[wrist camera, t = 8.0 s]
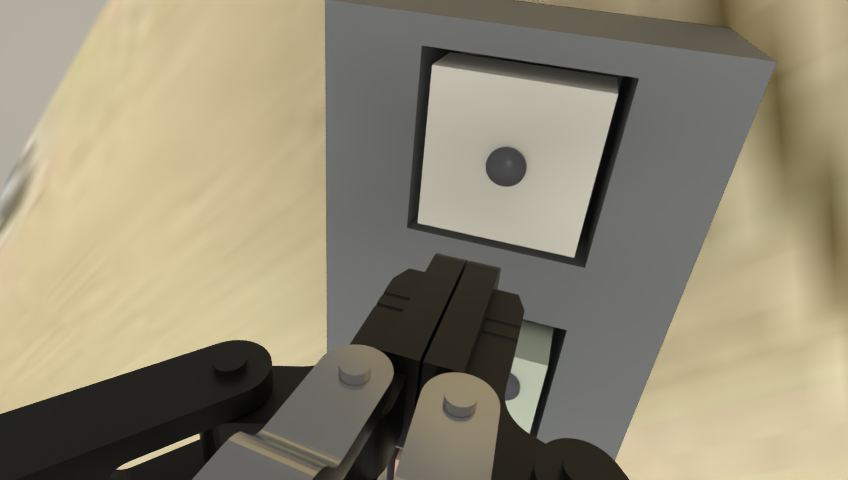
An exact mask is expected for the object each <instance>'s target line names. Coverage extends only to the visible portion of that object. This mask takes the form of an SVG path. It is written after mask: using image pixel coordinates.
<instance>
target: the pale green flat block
mask: <svg viewBox="0 0 848 480" xmlns="http://www.w3.org/2000/svg"><path fill="white" fill-rule="evenodd" d="M552 334H553V328H552V327H548V326H544V325H540V324H536V322H532V321H528V320H524V319H523V321H522V325H521V330H520V334H519V338H518V343H517V347H516V352H515V356H514V361H513V365H512V369H511V373H510V377H509V382H508V386H507V390H506V394H505V403H506V406H507V409H508V411H509V413H510V415H511V416H512V418H513V419H514V421H515V422H516V423H517V424H518V425H519V426H520V427H521V428H522V429H524V430H525V431H526V432H528V433H530V430H531V426H532V423H533V419H534V415H535V412H536V408H537V404H538V401H539V397H540V393H541V390H542V386H543V382H544V379H545V375H546V371H547V368H548V362H549V355H550V348H551V341H552Z"/></svg>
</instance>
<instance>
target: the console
mask: <svg viewBox="0 0 848 480" xmlns="http://www.w3.org/2000/svg"><path fill="white" fill-rule="evenodd" d="M449 52H452V53H459V54H465V55H472V56H478V57H485V58H492V59H498V60H505V61H511V62H518V63H525V64H531V65H538V66H544V67H551V68H558V69H564V70H571V71H577V72H584V73H591V74H597V75H604V76H610V77H617V82H618V97H617V101H616V104H615V108H614V112H613V115H612V119H611V123H610V126H609V130H608V134H607V138H606V141H605V145H604V149H603V152H602V156H601V160H600V164H599V167H598V171H597V175H596V178H595V182H594V186H593V189H592V193H591V197H590V201H589V204H588V208H587V212H586V215H585V219H584V223H583V227H582V230H581V234H580V238H579V241H578V245H577V249H576V252H575V256H574V258H573V257H568V256H564V255H559V254H555V253H550V252H546V251H541V250H537V249H532V248H528V247H523V246H519V245H514V244H510V243H505V242H501V241H496V240H492V239H487V238H483V237H478V236H474V235H469V234H465V233H460V232H456V231H451V230H447V229H442V228H438V227H433V226H429V225H424V224H419V223H418V212H419V201H420V190H421V180H422V169H423V158H424V147H425V136H426V125H427V114H428V104H429V93H430V82H431V71H432V65H433V64H434V63H435V62H437V61H438V60H440V59H441V58H442V57H444V56H445V55H447V54H448V53H449ZM325 61H326V244H327V353H328V352H329V351H331V350H333V349H335V348H338V347H341V346H345V345H349V344H350V343H351V341H352V340H353V338H354V337H355V335H356V334H357V332H358V331H359V329H360V328H361V326H362V325H363V323H364V322H365V320H366V318H367V317H368V315H369V314H370V312H371V311H372V309H373V308H374V306H376V304H377V302H378V300H379V299H380V297H381V296H382V294H384V291H385V289H386V288H387V286H388V285H389V283H390V282H391V280H392V279H393V278H394V277H395V276H397V275H399V274H401V273H402V272H404V271H406V270H407V269H409V268H410V269H414V270H419V271H423V272H425V271H426V269H427V267H428V266H429V264H430V262H431V260H432V259H433V257H434V255H435V254H436V253H440V254H444V255H448V256H453V257H457V258H461V259H466V260H468V262H469V261H475V262H479V263H483V264H487V265H492V266H496V267H500V268H501V272H500V278H499V284H498V289H497V290H501V291H505V292H509V293H514V294H518V295H519V297H520V300H521V302H522V305H523V307H524V310H525V312H524V316H523V319H524V320H528V321H532V322H536V324H540V325H544V326H548V327H552V328H553V334H552V341H551V348H550V355H549V362H548V368H547V371H546V375H545V379H544V382H543V386H542V390H541V393H540V397H539V401H538V404H537V408H536V412H535V415H534V419H533V423H532V426H531V430H530V433H529V434H531V435H532V436H534V437H535V438H537V439H539V440H540V441H542V442H544V443H545V444H546V443H548V442H550V441H552V440H555V439H560V438H574V439H579V440H583V441H586V442H589V443H591V444H593V445H595V446H597V447H599V448H600V449H602V450H603V451H605V452H606V453H607V454H608V455H609V456H610V457H612V459H613V460H614V461H615V459H616V456H617V454H618V451H619V449H620V446H621V444H622V441H623V439H624V436H625V434H626V432H627V429H628V427H629V424H630V422H631V419H632V417H633V414H634V412H635V409H636V407H637V405H638V402H639V400H640V397H641V395H642V392H643V390H644V387H645V385H646V382H647V380H648V378H649V375H650V373H651V370H652V368H653V365H654V363H655V360H656V358H657V355H658V353H659V350H660V348H661V346H662V343H663V341H664V338H665V336H666V333H667V331H668V328H669V326H670V323H671V321H672V319H673V316H674V314H675V311H676V309H677V306H678V304H679V301H680V299H681V296H682V294H683V292H684V289H685V287H686V284H687V282H688V279H689V277H690V274H691V272H692V269H693V267H694V264H695V262H696V260H697V257H698V255H699V252H700V250H701V247H702V245H703V242H704V240H705V237H706V235H707V233H708V230H709V228H710V225H711V223H712V220H713V218H714V215H715V213H716V210H717V208H718V206H719V203H720V201H721V198H722V196H723V193H724V191H725V188H726V186H727V183H728V181H729V178H730V176H731V174H732V171H733V169H734V166H735V164H736V161H737V159H738V156H739V154H740V151H741V149H742V147H743V144H744V142H745V139H746V137H747V134H748V132H749V129H750V127H751V124H752V122H753V120H754V117H755V115H756V112H757V110H758V107H759V105H760V102H761V100H762V97H763V95H764V92H765V90H766V88H767V85H768V83H769V80H770V78H771V75H772V73H773V70H774V68H775V65H776V63H777V62H776V61H775V60H774V59H772V58H771V57H770V56H768V55H767V54H765V53H764V52H763V51H761V50H760V49H759V48H757V47H756V46H754V45H753V44H752V43H750V42H749V41H748V40H746V39H745V38H743V37H742V36H741V35H739V34H738V33H737V32H735V31H734V30H732V29H731V28H726V27H718V26H710V25H703V24H695V23H687V22H679V21H671V20H664V19H656V18H648V17H640V16H632V15H624V14H617V13H609V12H601V11H593V10H585V9H578V8H570V7H562V6H554V5H546V4H539V3H531V2H523V1H515V0H325ZM400 449H403V448H401V447H398V446H396V447H395V450H394V452H393V454H392V457H391V459H390V461H389V464H388V466H387V467H386V475H385V479H384V480H393V479H394V472H395V461H396V457H397V455H398V452H399V450H400Z"/></svg>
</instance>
